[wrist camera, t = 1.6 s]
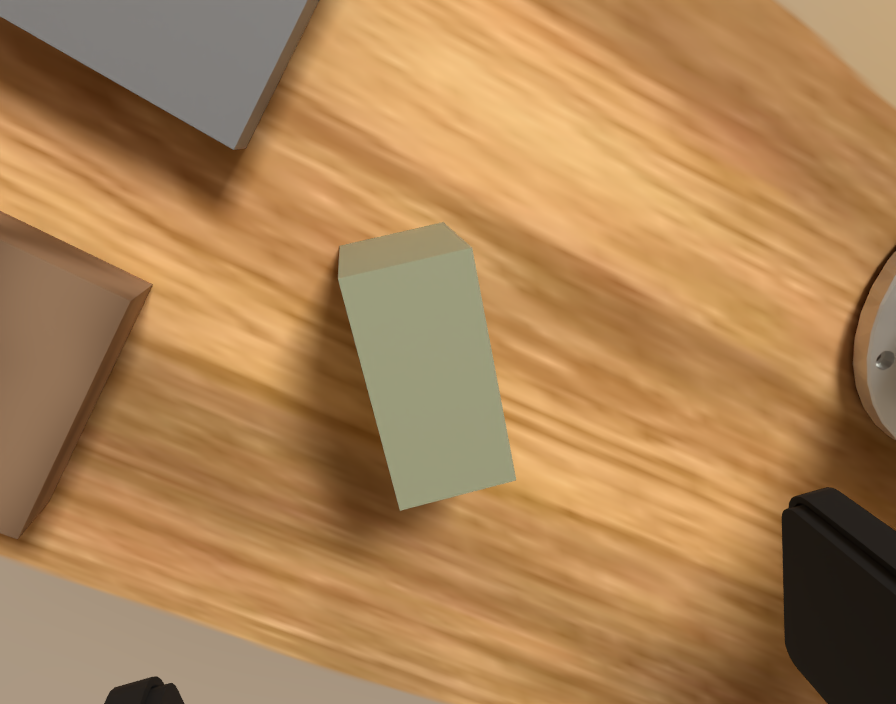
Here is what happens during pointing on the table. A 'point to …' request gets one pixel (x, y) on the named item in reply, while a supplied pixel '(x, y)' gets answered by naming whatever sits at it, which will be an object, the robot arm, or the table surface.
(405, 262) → the olive brick
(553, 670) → the table surface
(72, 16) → the charcoal block
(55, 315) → the walnut block
